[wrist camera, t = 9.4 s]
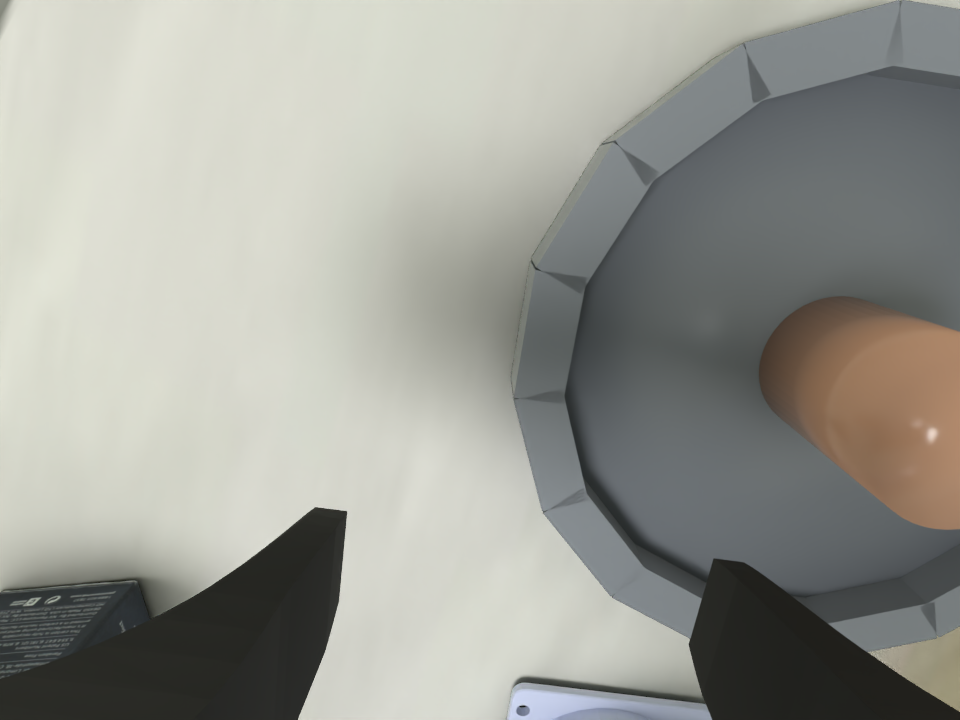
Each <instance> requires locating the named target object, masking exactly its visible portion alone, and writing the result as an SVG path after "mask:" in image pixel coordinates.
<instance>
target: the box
mask: <svg viewBox="0 0 960 720" xmlns="http://www.w3.org/2000/svg"><path fill="white" fill-rule="evenodd" d="M149 620H150V618H149V615H148V612H147V609H146V606H145V603H144V600H143V597H142V593H141V590H140V587H139V584H138V582H137V581H134V580H132V581H122V582H103V583H94V584H80V585H73V586H58V587H49V588H38V589H26V590H15V591H3V592H1V593H0V679H1V678H4V677H8V676H11V675H14V674H17V673H20V672H23V671H26V670H29V669H32V668H35V667H38V666H41V665H43V664H46V663H49V662H52V661H55V660H57V659H60V658H63V657H66V656H68V655H71V654H73V653H76V652H78V651H81V650H83V649H86V648H88V647H91V646H94V645H96V644H98V643H101V642H103V641H105V640H107V639H110V638H112V637H114V636H116V635H118V634H120V633H123V632H125V631H127V630H129V629H131V628H133V627H136V626H138V625H140V624H142V623H144V622H146V621H149Z"/></svg>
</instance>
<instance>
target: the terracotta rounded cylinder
mask: <svg viewBox="0 0 960 720" xmlns="http://www.w3.org/2000/svg"><path fill="white" fill-rule="evenodd" d="M759 382H760V387H761V391H762V394H763V397H764V399H765V401H766V402H767V404H768V406H769V407H770V408H771V410H772V411H773V412H774V413H775V414H776V415H777V416H778V417H779V418H781V419H782V420H783V421H784V422H785V423H787V424H788V425H789V426H790V427H791V428H793V429H794V430H795V431H796V432H798V433H799V434H800V435H801V436H802V437H804V438H805V439H806V440H807V441H808V442H810V443H811V444H812V445H813V446H815V447H816V448H817V449H818V450H819V451H821V452H822V453H823V454H824V455H825V456H827V457H828V458H829V459H830V460H831V461H833V462H834V463H835V464H836V465H838V466H839V467H840V468H841V469H842V470H844V471H845V472H846V473H847V474H848V475H850V476H851V477H852V478H853V479H855V480H856V481H857V482H858V483H859V484H861V485H862V486H863V487H864V488H865V489H867V490H868V491H869V492H870V493H872V494H873V495H874V496H875V497H876V498H878V499H879V500H880V501H881V502H882V503H884V504H885V505H886V506H887V507H888V508H890V509H891V510H892V511H893V512H895V513H896V514H898V515H899V516H900V517H902V518H904V519H906V520H908V521H910V522H912V523H914V524H917V525H920V526H923V527H928V528H933V529H944V530H953V529H960V332H959V331H956V330H953V329H950V328H947V327H944V326H941V325H938V324H935V323H932V322H929V321H926V320H923V319H920V318H917V317H914V316H911V315H908V314H905V313H902V312H899V311H896V310H893V309H890V308H887V307H884V306H881V305H878V304H875V303H872V302H869V301H866V300H863V299H859V298H854V297H846V296H836V297H828V298H823V299H819V300H816V301H813V302H811V303H809V304H806V305H804V306H802V307H801V308H799V309H797V310H796V311H794V312H793V313H792V314H790V315H789V316H788V317H787V318H785V319H784V320H783V321H782V322H781V323H780V324H779V326H778V327H777V328H776V329H775V330H774V332H773V333H772V335H771V336H770V338H769V339H768V341H767V343H766V345H765V347H764V350H763V353H762V356H761V360H760V366H759Z"/></svg>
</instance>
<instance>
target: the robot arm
mask: <svg viewBox="0 0 960 720" xmlns="http://www.w3.org/2000/svg"><path fill="white" fill-rule="evenodd" d="M346 518H347V511H340V510H333V509H325V508H317V507H315V508H314V509H312V510H311V511H310V512H308V513H307V514H306V515H305V516H303V517H302V518H301V519H300V520H299V521H297V522H296V523H295V524H294V525H293V526H291V527H290V528H289V529H288V530H286V531H285V532H284V533H283V534H282V535H280V536H279V537H278V538H277V539H275V540H274V541H273V542H272V543H270V544H269V545H268V546H266V547H265V548H264V549H262V550H261V551H260V552H258V553H257V554H256V555H255V556H253V557H252V558H251V559H249V560H248V561H247V562H245V563H244V564H242V565H241V566H240V567H238V568H237V569H235V570H234V571H232V572H231V573H229V574H228V575H226V576H225V577H223V578H222V579H221V580H219V581H218V582H216V583H215V584H213V585H212V586H210V587H209V588H207V589H205V590H204V591H202V592H200V593H199V594H197V595H195V596H194V597H192V598H190V599H188V600H187V601H185V602H183V603H181V604H179V605H177V606H176V607H174V608H172V609H170V610H168V611H167V612H165V613H163V614H161V615H159V616H157V617H155V618H153V619H151V620H149V621H146V622H144V623H142V624H140V625H138V626H136V627H133V628H131V629H129V630H127V631H125V632H123V633H120V634H118V635H116V636H114V637H112V638H110V639H107V640H105V641H103V642H101V643H98V644H96V645H94V646H91V647H88V648H86V649H83V650H81V651H78V652H76V653H73V654H71V655H68V656H66V657H63V658H60V659H57V660H55V661H52V662H49V663H46V664H43V665H41V666H38V667H35V668H32V669H29V670H26V671H23V672H20V673H17V674H14V675H11V676H8V677H4V678H1V679H0V720H298V717H299V715H300V712H301V710H302V707H303V705H304V703H305V700H306V698H307V695H308V693H309V690H310V688H311V685H312V683H313V680H314V678H315V675H316V673H317V670H318V668H319V665H320V663H321V660H322V658H323V655H324V653H325V650H326V646H327V643H328V639H329V636H330V632H331V629H332V625H333V621H334V617H335V614H336V610H337V606H338V602H339V593H340V583H341V572H342V561H343V550H344V539H345V529H346ZM689 647H690V651H691V655H692V659H693V663H694V667H695V671H696V675H697V678H698V682H699V685H700V689H701V692H702V696H703V698H704V701H705V703H706V704H702V703H693V702H685V701H676V700H668V699H660V698H651V697H643V696H635V695H626V694H618V693H609V692H601V691H593V690H584V689H576V688H568V687H559V686H551V685H542V684H534V683H520V684H517V685H516V686H515V687H514V688H513V690H512V693H511V698H510V703H509V708H508V713H507V718H506V720H960V712H959V711H957V710H955V709H954V708H952V707H950V706H949V705H947V704H946V703H944V702H942V701H941V700H939V699H937V698H936V697H934V696H933V695H931V694H929V693H928V692H926V691H924V690H923V689H921V688H919V687H918V686H916V685H915V684H913V683H912V682H910V681H909V680H907V679H906V678H904V677H902V676H901V675H899V674H898V673H896V672H895V671H894V670H892V669H891V668H889V667H888V666H886V665H885V664H883V663H882V662H881V661H879V660H878V659H876V658H875V657H873V656H872V655H870V654H869V653H868V652H866V651H865V650H863V649H862V648H860V647H859V646H858V645H856V644H855V643H854V642H852V641H851V640H849V639H848V638H847V637H845V636H844V635H843V634H841V633H840V632H838V631H837V630H836V629H834V628H833V627H832V626H830V625H829V624H828V623H826V622H825V621H824V620H822V619H821V618H820V617H818V616H817V615H816V614H815V613H813V612H812V611H811V610H809V609H808V608H807V607H805V606H804V605H803V604H801V603H800V602H799V601H798V600H796V599H795V598H794V597H792V596H791V595H790V594H788V593H787V592H786V591H784V590H783V589H782V588H780V587H779V586H778V585H776V584H775V583H774V582H772V581H771V580H770V579H768V578H767V577H766V576H764V575H763V574H761V573H760V572H759V571H757V570H756V569H754V568H753V567H751V566H749V565H748V564H746V563H744V562H739V561H731V560H723V559H715V558H713V562H712V565H711V569H710V572H709V576H708V579H707V583H706V586H705V590H704V593H703V597H702V600H701V604H700V607H699V611H698V614H697V618H696V621H695V624H694V628H693V631H692V635H691V638H690V642H689ZM520 705H525V706H526V707H523V708H521V707H519V706H520Z"/></svg>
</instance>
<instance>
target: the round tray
mask: <svg viewBox="0 0 960 720" xmlns="http://www.w3.org/2000/svg"><path fill="white" fill-rule="evenodd" d="M531 259H532V261H530V264H529V270H528V276H527V282H526V288H525V294H524V300H523V306H522V312H521V318H520V324H519V330H518V336H517V343H516V349H515V355H514V361H513V367H512V373H511V384H512V391H513V398H514V403H515V407H516V411H517V415H518V419H519V423H520V426H521V430H522V434H523V438H524V442H525V446H526V450H527V454H528V458H529V462H530V465H531V469H532V473H533V477H534V481H535V485H536V489H537V493H538V497H539V501H540V505H541V508H542V511H543V514H544V515H545V516H546V517H547V519H548V520H549V521H550V522H551V523H552V525H553V526H554V527H555V528H556V530H557V531H558V532H559V533H560V535H561V536H562V537H563V538H564V540H565V541H566V542H567V543H568V544H569V546H570V547H571V548H572V549H573V551H574V552H575V553H576V554H577V556H578V557H579V558H580V559H581V560H582V562H583V563H584V564H585V565H586V567H587V568H588V569H589V570H590V572H591V573H592V574H593V575H594V577H595V578H596V579H597V580H598V581H599V583H600V584H601V585H602V586H603V588H604V589H605V590H606V591H607V593H608V594H609V595H610V596H612V598H614V599H616V600H618V601H619V602H621V603H623V604H625V605H627V606H629V607H631V608H633V609H635V610H637V611H639V612H640V613H642V614H644V615H646V616H648V617H650V618H652V619H654V620H656V621H658V622H660V623H661V624H663V625H665V626H667V627H669V628H671V629H673V630H675V631H677V632H679V633H681V634H682V635H684V636H686V637H688V638H691V635H692V631H693V628H694V624H695V621H696V618H697V614H698V611H699V607H700V604H701V600H702V597H703V593H704V590H705V586H706V583H707V579H708V576H709V572H710V569H711V565H712V562H713V558H715V559H723V560H731V561H739V562H744V563H746V564H748V565H749V566H751V567H753V568H754V569H756V570H757V571H759V572H760V573H761V574H763V575H764V576H766V577H767V578H768V579H770V580H771V581H772V582H774V583H775V584H776V585H778V586H779V587H780V588H782V589H783V590H784V591H786V592H787V593H788V594H790V595H791V596H792V597H794V598H795V599H796V600H798V601H799V602H800V603H801V604H803V605H804V606H805V607H807V608H808V609H809V610H811V611H812V612H813V613H815V614H816V615H817V616H818V617H820V618H821V619H822V620H824V621H825V622H826V623H828V624H829V625H830V626H832V627H833V628H834V629H836V630H837V631H838V632H840V633H841V634H843V635H844V636H845V637H847V638H848V639H849V640H851V641H852V642H854V643H855V644H856V645H858V646H859V647H860V648H862V649H863V650H865V651H866V652H870V651H875V650H880V649H885V648H890V647H896V646H901V645H906V644H911V643H916V642H921V641H926V640H931V639H936V638H937V636H938V637H941V636H943V635H945V634H946V633H948V632H950V631H952V630H954V629H956V628H958V627H960V529H953V530H944V529H933V528H928V527H923V526H920V525H917V524H914V523H912V522H910V521H908V520H906V519H904V518H902V517H900V516H899V515H898V514H896V513H895V512H893V511H892V510H891V509H890V508H888V507H887V506H886V505H885V504H884V503H882V502H881V501H880V500H879V499H878V498H876V497H875V496H874V495H873V494H872V493H870V492H869V491H868V490H867V489H865V488H864V487H863V486H862V485H861V484H859V483H858V482H857V481H856V480H855V479H853V478H852V477H851V476H850V475H848V474H847V473H846V472H845V471H844V470H842V469H841V468H840V467H839V466H838V465H836V464H835V463H834V462H833V461H831V460H830V459H829V458H828V457H827V456H825V455H824V454H823V453H822V452H821V451H819V450H818V449H817V448H816V447H815V446H813V445H812V444H811V443H810V442H808V441H807V440H806V439H805V438H804V437H802V436H801V435H800V434H799V433H798V432H796V431H795V430H794V429H793V428H791V427H790V426H789V425H788V424H787V423H785V422H784V421H783V420H782V419H781V418H779V417H778V416H777V415H776V414H775V413H774V412H773V411H772V410H771V408H770V407H769V406H768V404H767V402H766V401H765V399H764V397H763V394H762V391H761V387H760V382H759V366H760V360H761V356H762V353H763V350H764V347H765V345H766V343H767V341H768V339H769V338H770V336H771V335H772V333H773V332H774V330H775V329H776V328H777V327H778V326H779V324H780V323H781V322H782V321H783V320H784V319H785V318H787V317H788V316H789V315H790V314H792V313H793V312H794V311H796V310H797V309H799V308H801V307H802V306H804V305H806V304H809V303H811V302H813V301H816V300H819V299H823V298H828V297H836V296H846V297H854V298H859V299H863V300H866V301H869V302H872V303H875V304H878V305H881V306H884V307H887V308H890V309H893V310H896V311H899V312H902V313H905V314H908V315H911V316H914V317H917V318H920V319H923V320H926V321H929V322H932V323H935V324H938V325H941V326H944V327H947V328H950V329H953V330H956V331H959V332H960V9H955V8H949V7H943V6H937V5H931V4H925V3H919V2H912V1H906V0H901V1H900V0H898V1H894V2H891V3H887V4H883V5H880V6H876V7H872V8H869V9H865V10H861V11H858V12H854V13H851V14H847V15H843V16H840V17H836V18H832V19H829V20H825V21H821V22H818V23H814V24H810V25H807V26H803V27H800V28H796V29H792V30H789V31H785V32H781V33H778V34H774V35H770V36H767V37H763V38H759V39H756V40H752V41H749V42H745V43H743V44H741V45H739V46H737V47H735V48H733V49H731V50H729V51H727V52H725V53H723V54H721V55H719V56H717V57H715V58H714V59H712V60H711V61H710V62H708V63H707V64H706V65H704V66H703V67H702V68H700V69H699V70H698V71H696V72H695V73H694V74H693V75H691V76H690V77H689V78H687V79H686V80H685V81H683V82H682V83H681V84H679V85H678V86H677V87H675V88H674V89H673V90H671V91H670V92H669V93H668V94H666V95H665V96H664V97H662V98H661V99H660V100H658V101H657V102H656V103H654V104H653V105H652V106H650V107H649V108H648V109H646V110H645V111H644V112H643V113H641V114H640V115H639V116H637V117H636V118H635V119H633V120H632V121H631V122H629V123H628V124H627V125H625V126H624V127H623V128H622V129H620V130H619V131H618V132H616V133H615V134H614V135H612V136H611V137H610V138H608V139H607V140H606V141H604V142H603V143H602V145H600V146H599V148H598V150H597V151H596V153H595V154H594V156H593V158H592V159H591V161H590V163H589V164H588V166H587V167H586V169H585V171H584V172H583V174H582V176H581V177H580V179H579V181H578V182H577V184H576V185H575V187H574V189H573V190H572V192H571V194H570V195H569V197H568V198H567V200H566V202H565V203H564V205H563V207H562V208H561V210H560V212H559V213H558V215H557V216H556V218H555V220H554V221H553V223H552V225H551V226H550V228H549V230H548V231H547V233H546V234H545V236H544V238H543V239H542V241H541V243H540V244H539V246H538V247H537V249H536V251H535V252H534V254H533V256H532V257H531Z"/></svg>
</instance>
